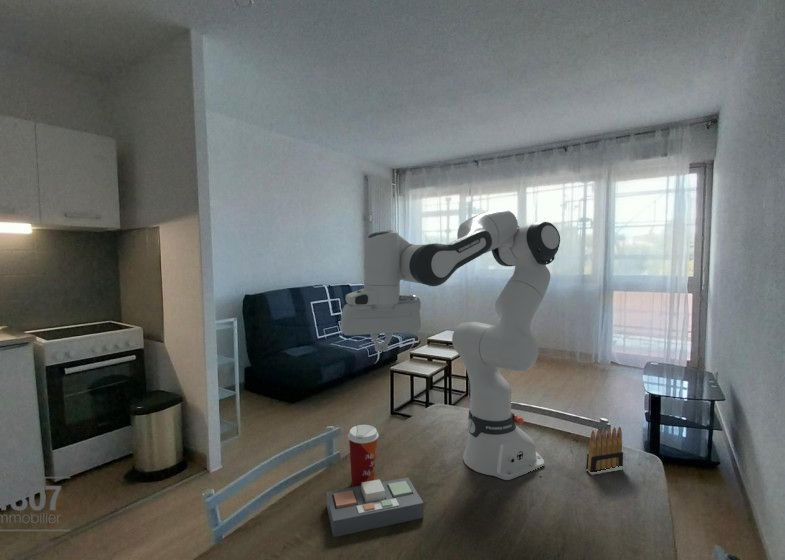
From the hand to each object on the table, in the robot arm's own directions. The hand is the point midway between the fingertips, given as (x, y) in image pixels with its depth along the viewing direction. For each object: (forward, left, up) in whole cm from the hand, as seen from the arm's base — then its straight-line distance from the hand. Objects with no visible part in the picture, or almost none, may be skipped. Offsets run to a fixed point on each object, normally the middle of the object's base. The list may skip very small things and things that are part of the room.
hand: (381, 350), depth 95 cm
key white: (+4, +10, -31) cm, 33 cm away
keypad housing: (+4, +11, -34) cm, 36 cm away
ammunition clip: (-60, +13, -34) cm, 70 cm away
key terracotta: (+11, +10, -32) cm, 36 cm away
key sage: (-2, +10, -33) cm, 34 cm away
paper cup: (+4, 0, -34) cm, 35 cm away
